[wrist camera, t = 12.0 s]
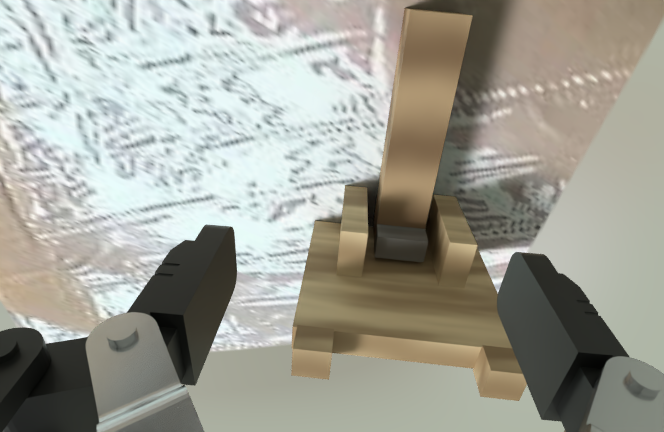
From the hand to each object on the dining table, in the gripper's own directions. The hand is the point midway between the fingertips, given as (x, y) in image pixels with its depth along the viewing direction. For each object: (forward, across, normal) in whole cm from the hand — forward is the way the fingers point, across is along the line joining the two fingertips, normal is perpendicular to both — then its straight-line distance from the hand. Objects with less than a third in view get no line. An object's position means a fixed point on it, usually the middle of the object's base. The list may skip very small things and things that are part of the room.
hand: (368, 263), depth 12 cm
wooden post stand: (+23, -4, +12) cm, 27 cm away
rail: (+24, -4, +4) cm, 24 cm away
